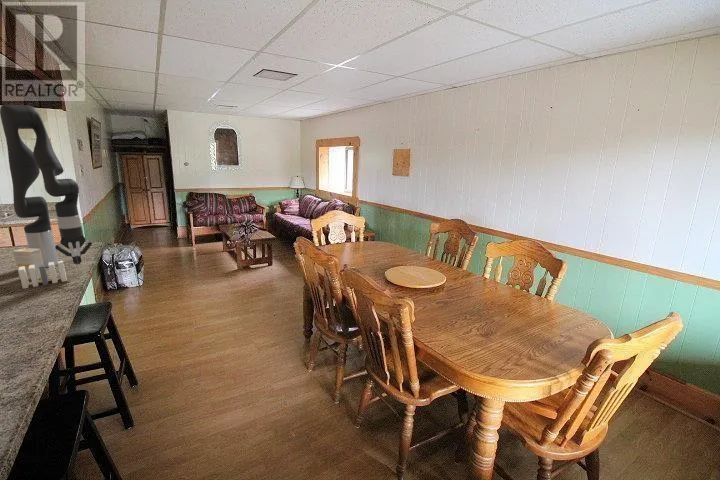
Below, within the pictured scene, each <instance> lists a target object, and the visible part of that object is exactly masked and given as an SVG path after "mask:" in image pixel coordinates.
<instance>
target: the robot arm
mask: <svg viewBox="0 0 720 480" xmlns="http://www.w3.org/2000/svg"><path fill="white" fill-rule="evenodd" d="M0 119H1V125H2V129H3V132H4V136H5V141H6V149H7V155H8V156H7V157H8V164H9V170H10V176H11V177H10V178H11V183H12V196H13V197H12V198H13V199H12V200H13V209H14V212H15V214H16V216H17V217H18V218H22V219H27V218H36V217H37V219H36V220H35V221H32V222H31V223H29V224H26V225H25V226H24V227H23V230H24V233H25V237H26V242H27V246H28V247H27V248H30V249H40V251H41V255H42V259H43V263H44V265H45V269H46V268H49V266H48V265H49V262H54V266H55V267H56V266H58V261H59V257H58V253H57V251H58V252H60V253H61V254H63V255H65V256H66V257H70V258H71V259H72V262H73V264H74V265H76V266H78V265H81V263H82V257H81V256H82V255H85V254H86V253H87V252H88V250H89V249H90V247H91V246H92V245H93V242H92V241H91V240H90V241H89V240H88V239H86V237H85V236H84V231H83V226H82V222H81V218H80V214H79V209H78V201H79V193H80V190H79V189H80V187H79V185H78V183H77V181H76V180H74V179H72V178H58V179H57V178H56V176H60V175H62V174H63V173H64V171H65V170H64V167H63V165H62V163H61V162H60V161H59V159H58V157H57V155H56V153H55V151H54V149H53V146H52V143H51V141H50V138H49V135H48V132H47V130H46V127H45V124H44V122H43V119H42V116H41V114H40V113H39V110H37V108H35V107H34V106H32V105H28V104H26V105H25V104H2V105H1V106H0ZM19 130H33V132H34V133H35V145H34V148H33V150H32V149H30V148H29V146H28V145H27V144H26V143H24V140H22V138H21V136H20V133H19ZM40 172H41V174H42V179H43V184H44V189H45V191H46V193H47V194H48V195H50V196H51V197H55V198H58V197H59V198H60V197H64V198H63V200H61V201H59V202H56V203H55V205H54V208H55V212H56V218H57V219H56V220H57V227H58V230H59V235H60V241H59V243H58V244H57V245H56V243H55V240H54V235H53V230H52V225H51V219H50V213H49V208H48V207H49V206H48V203H47V201H46V199H45V198H44V197H43V196H29V197H28V196H27V197H26V195H27V192H28V190H29V188H30V187H31V186H32V185H33V183H34V182H35V181H36V180H37V179H38V177H39V176H40ZM83 245H85V246H84V247H83ZM64 247H65V249H64ZM82 247H83V249H82V250H81V248H82ZM66 249H67V250H69V251H70V252H68V251H67V250H66ZM75 250H76V252H75Z"/></svg>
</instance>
